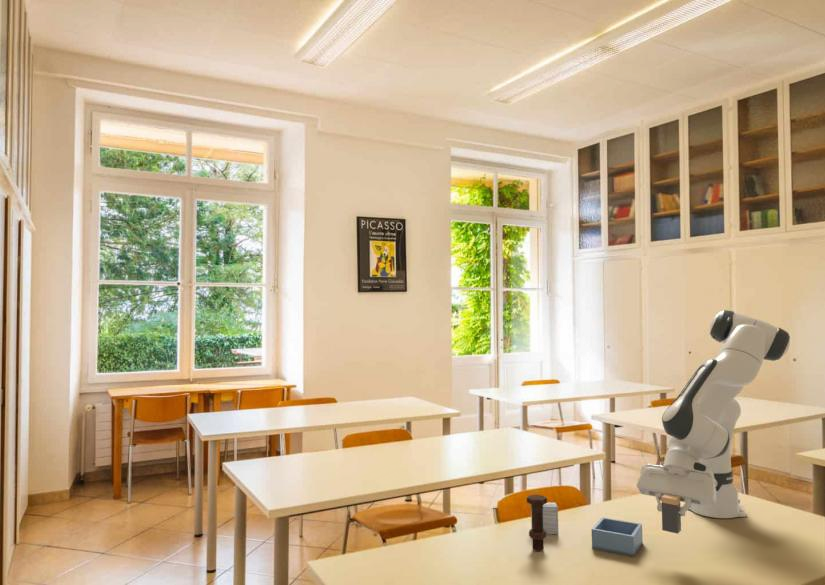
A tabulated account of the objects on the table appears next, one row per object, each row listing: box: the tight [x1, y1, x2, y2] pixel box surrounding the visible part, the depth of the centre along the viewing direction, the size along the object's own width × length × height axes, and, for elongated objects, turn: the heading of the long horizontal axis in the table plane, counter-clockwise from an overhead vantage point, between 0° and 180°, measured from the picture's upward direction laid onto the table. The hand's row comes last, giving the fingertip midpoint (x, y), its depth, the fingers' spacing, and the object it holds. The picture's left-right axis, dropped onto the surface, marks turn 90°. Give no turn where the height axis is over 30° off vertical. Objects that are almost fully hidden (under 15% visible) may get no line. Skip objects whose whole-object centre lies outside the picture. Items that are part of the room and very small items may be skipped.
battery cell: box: [661, 494, 682, 534], centre depth 161 cm, size 3×4×9 cm
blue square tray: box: [591, 517, 644, 558], centre depth 172 cm, size 12×12×6 cm
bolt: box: [526, 494, 548, 552], centre depth 171 cm, size 6×5×15 cm
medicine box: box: [530, 501, 560, 535], centre depth 184 cm, size 8×4×9 cm, turn 84°
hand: (670, 512), depth 161 cm, fingers closed on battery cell, 4 cm apart
